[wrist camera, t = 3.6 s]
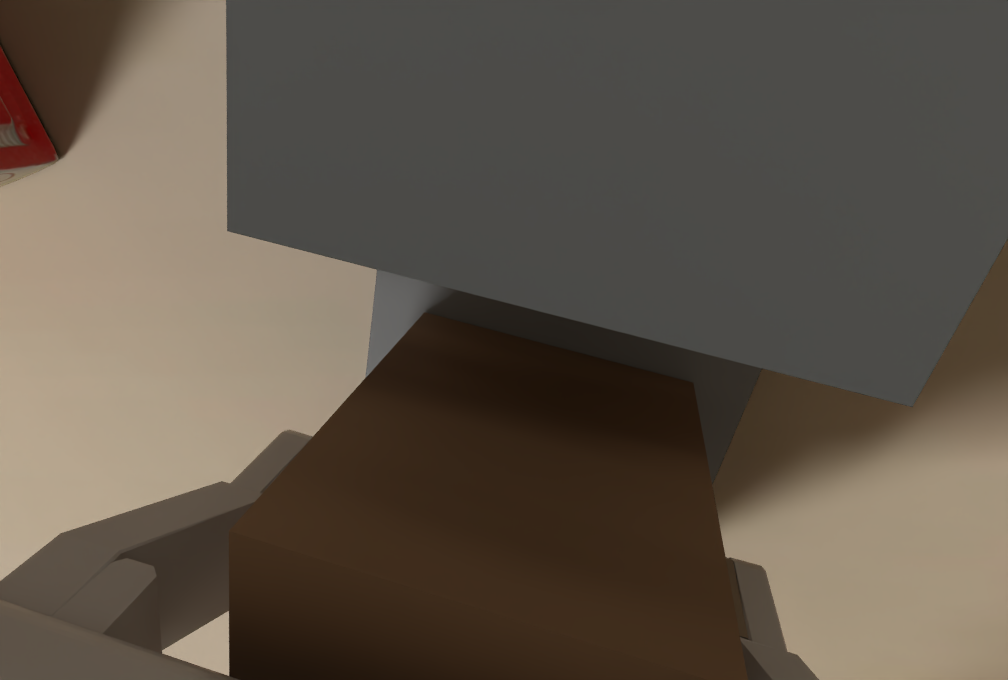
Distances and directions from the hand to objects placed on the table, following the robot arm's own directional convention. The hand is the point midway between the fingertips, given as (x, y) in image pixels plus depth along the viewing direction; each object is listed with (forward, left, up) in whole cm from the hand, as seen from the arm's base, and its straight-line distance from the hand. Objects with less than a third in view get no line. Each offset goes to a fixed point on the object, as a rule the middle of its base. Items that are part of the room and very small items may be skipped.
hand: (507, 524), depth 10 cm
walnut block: (0, 0, -2) cm, 2 cm away
